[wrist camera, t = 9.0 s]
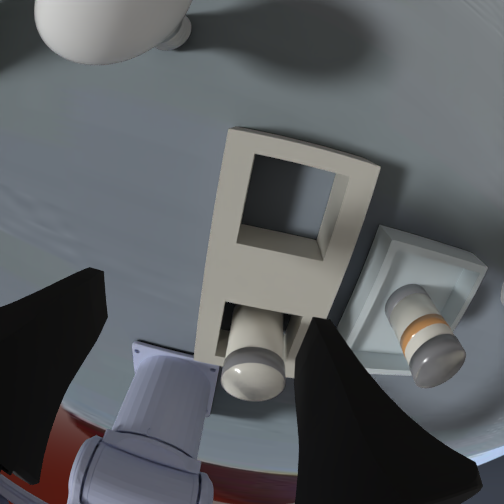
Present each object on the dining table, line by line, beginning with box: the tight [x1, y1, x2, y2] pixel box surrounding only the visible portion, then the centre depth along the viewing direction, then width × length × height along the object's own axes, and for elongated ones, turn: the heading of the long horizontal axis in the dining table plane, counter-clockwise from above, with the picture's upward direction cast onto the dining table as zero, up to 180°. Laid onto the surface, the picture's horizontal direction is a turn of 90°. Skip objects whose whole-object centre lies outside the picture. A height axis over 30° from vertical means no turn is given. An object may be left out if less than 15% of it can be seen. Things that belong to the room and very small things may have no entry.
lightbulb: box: [34, 0, 192, 65], centre depth 9 cm, size 6×6×11 cm
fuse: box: [221, 303, 286, 401], centre depth 19 cm, size 4×4×7 cm
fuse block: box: [194, 126, 381, 378], centre depth 19 cm, size 16×8×3 cm, turn 169°
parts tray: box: [337, 225, 488, 376], centre depth 20 cm, size 11×9×2 cm
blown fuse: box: [385, 284, 466, 388], centre depth 18 cm, size 4×4×7 cm
